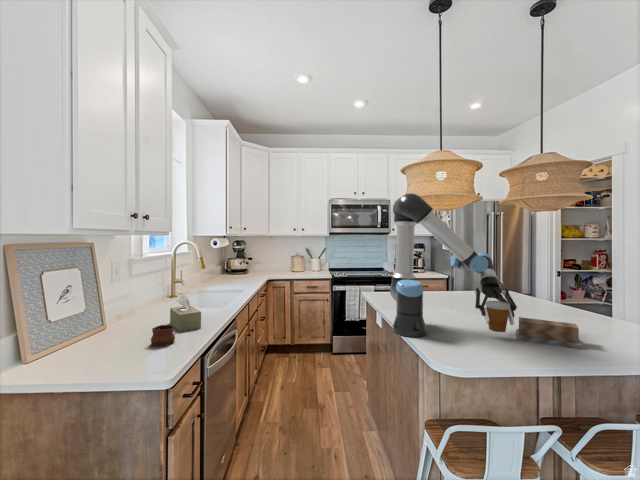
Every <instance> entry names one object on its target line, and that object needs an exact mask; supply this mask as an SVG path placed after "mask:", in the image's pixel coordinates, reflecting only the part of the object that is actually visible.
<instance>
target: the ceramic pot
mask: <svg viewBox="0 0 640 480" xmlns="http://www.w3.org/2000/svg"><path fill="white" fill-rule="evenodd" d="M174 329H175V327H174V326H173V325H172V324H160V325H157V326H155V327H152V329H151V330H152V331H151V333H152V336H151V338H150V343H151V346H153V347H165V346H169V345H173V344H174V343H175V339H176V336H175V334H174Z"/></svg>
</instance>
